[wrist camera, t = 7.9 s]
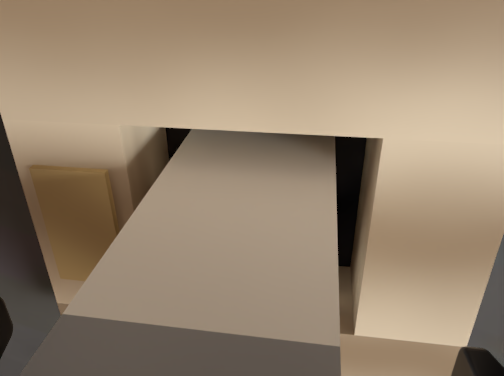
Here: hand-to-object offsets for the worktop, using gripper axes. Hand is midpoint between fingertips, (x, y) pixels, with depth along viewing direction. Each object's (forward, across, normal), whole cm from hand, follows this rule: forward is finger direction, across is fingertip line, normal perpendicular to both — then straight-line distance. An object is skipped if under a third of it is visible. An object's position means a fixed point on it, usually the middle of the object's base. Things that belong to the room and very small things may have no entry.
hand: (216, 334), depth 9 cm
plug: (+6, 0, 0) cm, 6 cm away
